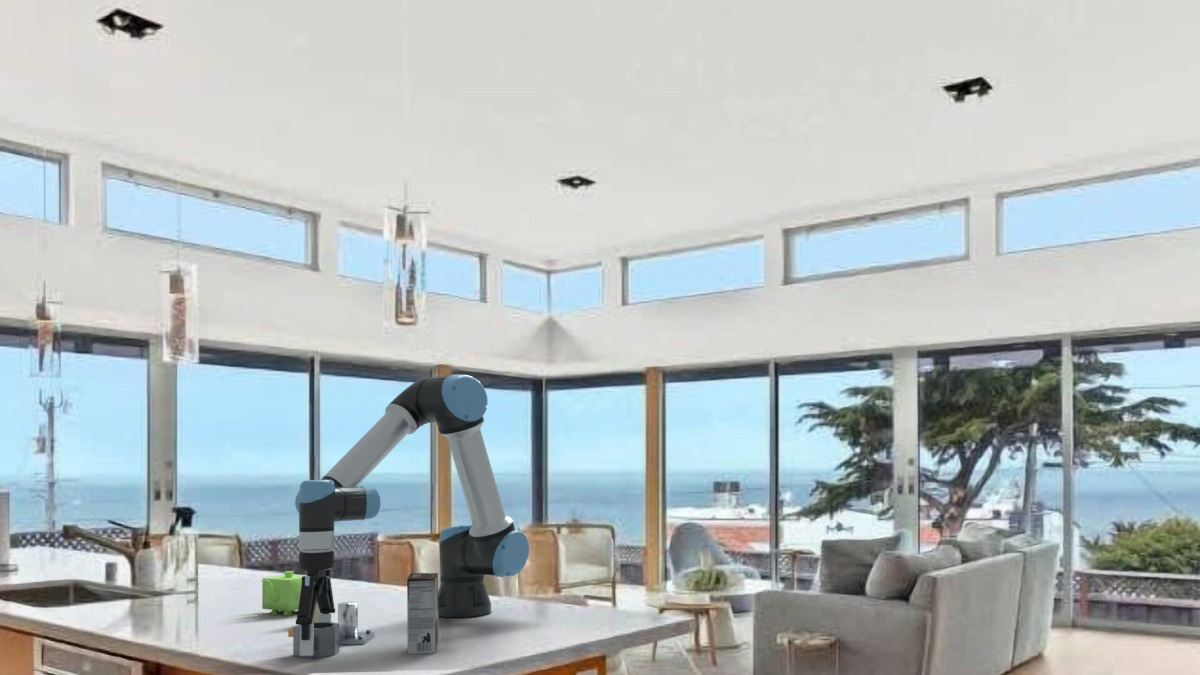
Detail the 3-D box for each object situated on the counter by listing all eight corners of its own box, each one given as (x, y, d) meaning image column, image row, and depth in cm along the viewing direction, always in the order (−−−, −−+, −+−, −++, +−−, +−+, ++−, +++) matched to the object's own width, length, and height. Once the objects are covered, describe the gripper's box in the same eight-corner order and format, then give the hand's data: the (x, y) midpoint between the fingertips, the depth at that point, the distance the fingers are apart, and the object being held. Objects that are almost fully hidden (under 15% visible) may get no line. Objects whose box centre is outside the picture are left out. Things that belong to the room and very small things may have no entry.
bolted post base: (374, 636, 255) (374, 599, 256) (364, 644, 245) (364, 606, 246) (332, 637, 255) (332, 600, 256) (320, 645, 245) (320, 607, 246)
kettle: (315, 615, 290) (315, 572, 291) (260, 619, 286) (260, 576, 287) (315, 607, 304) (315, 566, 305) (263, 610, 301) (263, 569, 302)
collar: (342, 649, 240) (342, 621, 240) (331, 657, 231) (331, 628, 231) (295, 650, 240) (295, 622, 241) (282, 658, 231) (282, 629, 232)
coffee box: (410, 646, 241) (409, 573, 243) (439, 645, 242) (438, 572, 243) (406, 654, 232) (405, 578, 234) (436, 653, 233) (436, 577, 234)
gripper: (315, 545, 250) (315, 639, 248) (281, 556, 225) (280, 661, 223) (348, 545, 250) (347, 639, 248) (317, 556, 225) (316, 660, 223)
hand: (315, 649), depth 235 cm, fingers open, 13 cm apart
